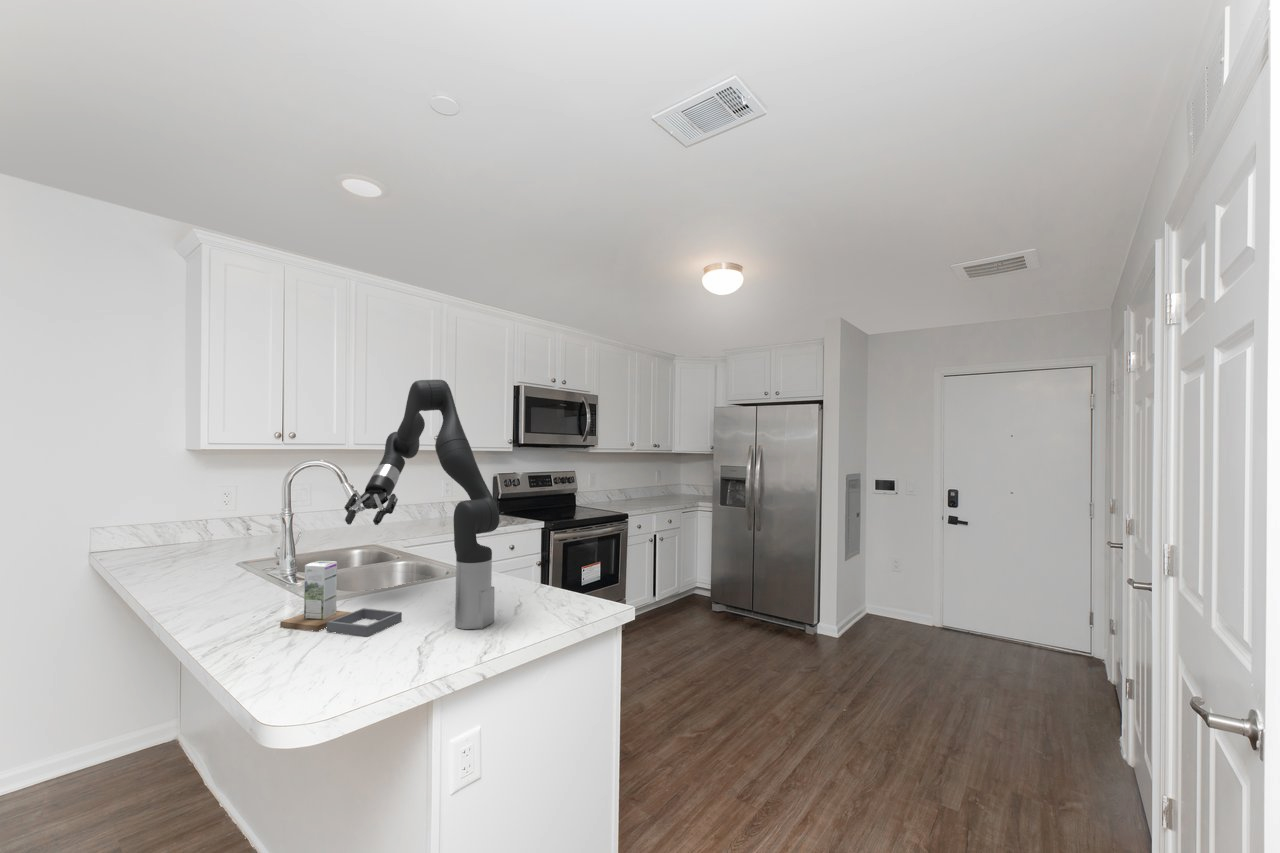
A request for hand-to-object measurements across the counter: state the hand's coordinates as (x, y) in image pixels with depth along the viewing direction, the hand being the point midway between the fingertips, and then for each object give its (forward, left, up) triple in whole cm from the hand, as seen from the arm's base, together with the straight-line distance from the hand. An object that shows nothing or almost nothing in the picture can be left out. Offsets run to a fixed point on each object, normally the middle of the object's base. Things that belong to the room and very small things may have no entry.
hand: (361, 523), depth 165 cm
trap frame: (-14, +14, -25) cm, 32 cm away
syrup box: (0, +14, -23) cm, 27 cm away
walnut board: (0, +15, -25) cm, 29 cm away
